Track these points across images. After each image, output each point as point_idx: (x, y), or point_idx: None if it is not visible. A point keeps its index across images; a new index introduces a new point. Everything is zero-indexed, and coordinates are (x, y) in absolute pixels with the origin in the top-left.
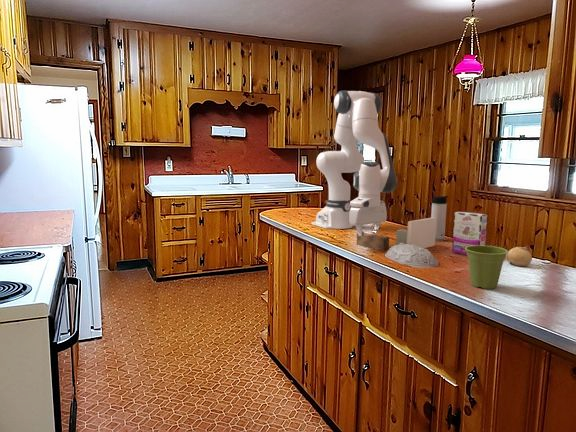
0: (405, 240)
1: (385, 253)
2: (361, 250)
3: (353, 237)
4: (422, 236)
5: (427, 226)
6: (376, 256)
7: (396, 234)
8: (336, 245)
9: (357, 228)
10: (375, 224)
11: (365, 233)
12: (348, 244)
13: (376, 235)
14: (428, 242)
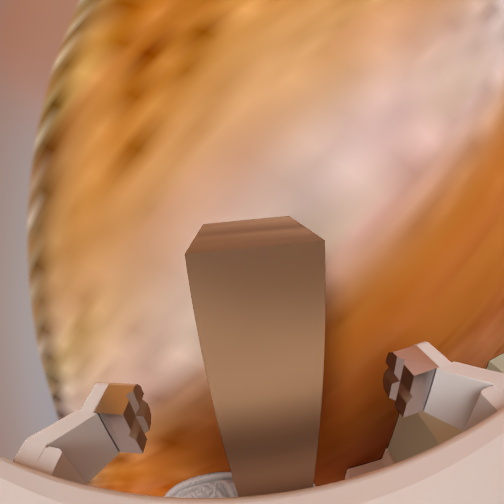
0: None
1: (199, 479)
2: (118, 380)
3: (399, 4)
4: None
5: None
6: (128, 473)
7: None
8: (46, 149)
9: (45, 444)
10: (476, 408)
11: (301, 319)
12: (152, 162)
13: (309, 441)
14: None
